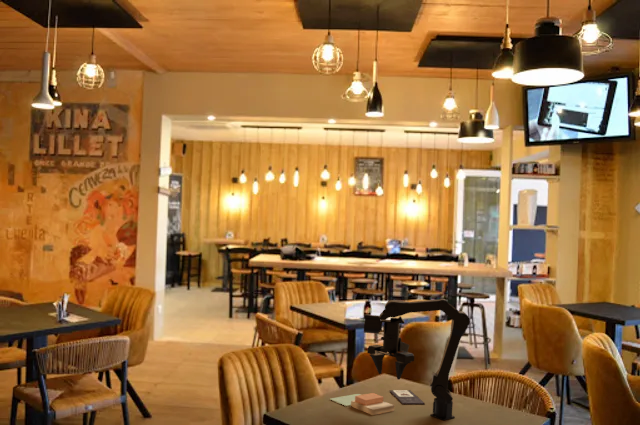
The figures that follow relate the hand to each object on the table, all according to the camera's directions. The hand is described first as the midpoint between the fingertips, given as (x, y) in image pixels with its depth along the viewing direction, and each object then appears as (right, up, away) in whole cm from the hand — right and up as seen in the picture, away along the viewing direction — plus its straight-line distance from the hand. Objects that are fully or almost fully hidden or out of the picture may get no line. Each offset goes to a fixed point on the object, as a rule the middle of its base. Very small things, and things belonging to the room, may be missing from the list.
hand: (389, 376), depth 228 cm
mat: (-13, -13, +12) cm, 22 cm away
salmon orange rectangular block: (-7, -11, +5) cm, 14 cm away
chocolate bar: (+9, -15, +20) cm, 26 cm away
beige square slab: (-6, -13, +3) cm, 15 cm away
